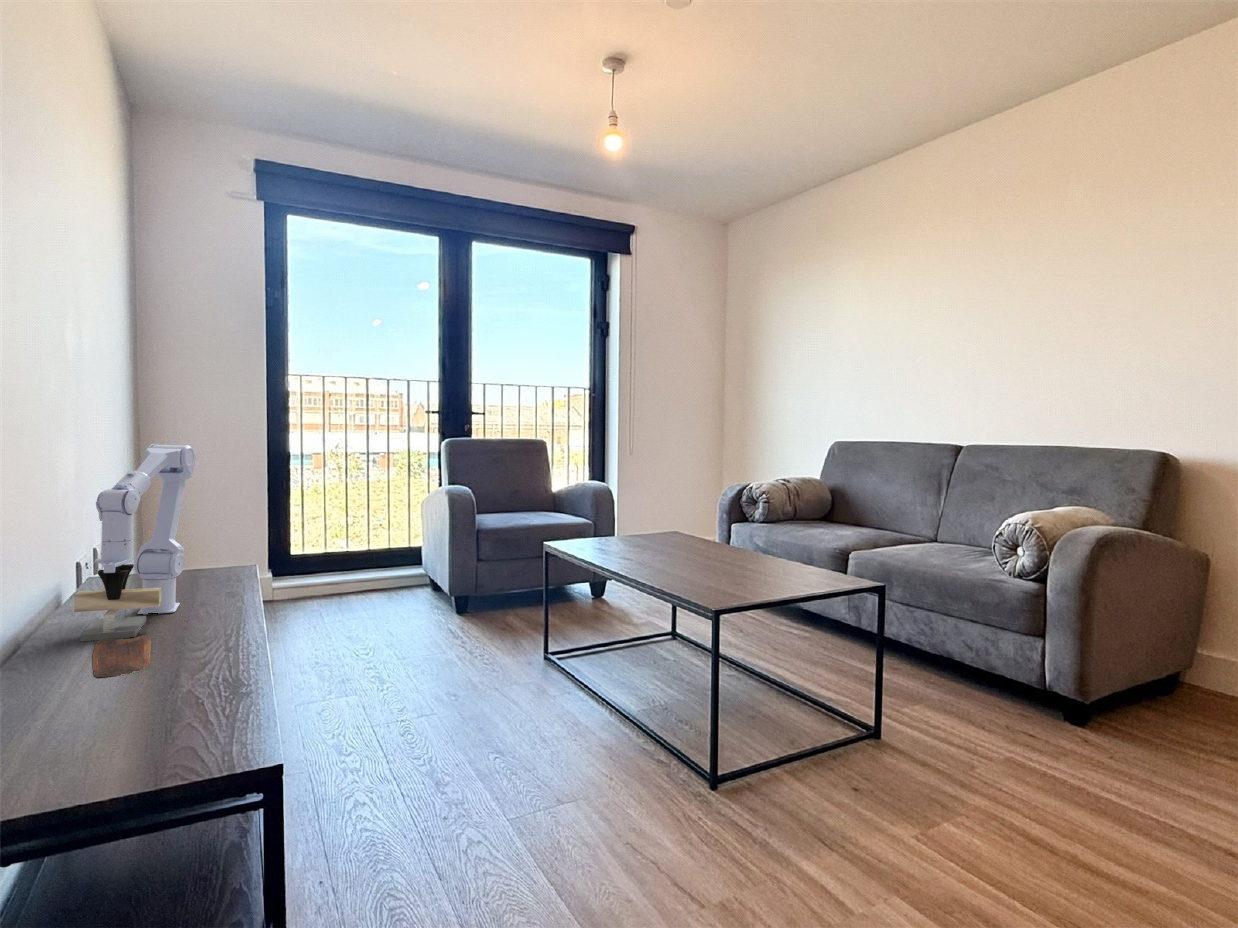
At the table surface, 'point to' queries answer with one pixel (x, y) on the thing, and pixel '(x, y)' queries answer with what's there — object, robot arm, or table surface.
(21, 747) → the table surface
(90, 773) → the table surface
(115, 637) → the grey slab
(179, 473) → the robot arm
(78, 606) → the maple bar
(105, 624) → the steel ridge
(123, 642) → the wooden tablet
